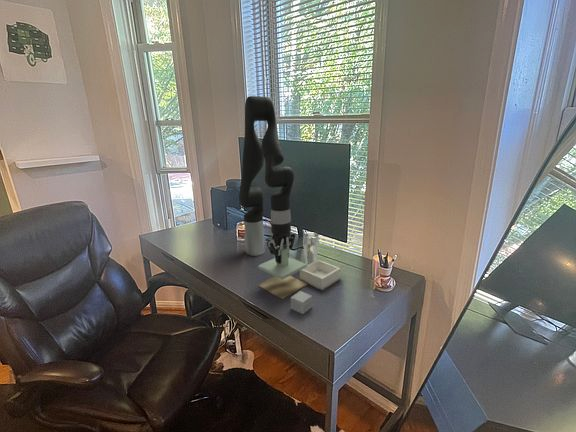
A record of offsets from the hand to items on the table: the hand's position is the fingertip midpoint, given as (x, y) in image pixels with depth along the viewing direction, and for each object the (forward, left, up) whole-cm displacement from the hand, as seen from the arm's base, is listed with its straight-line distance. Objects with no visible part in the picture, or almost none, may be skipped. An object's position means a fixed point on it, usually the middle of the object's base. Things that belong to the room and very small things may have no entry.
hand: (282, 261), depth 125 cm
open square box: (+8, +14, -11) cm, 19 cm away
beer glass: (-3, +21, -11) cm, 24 cm away
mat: (0, 0, -11) cm, 11 cm away
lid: (0, 0, -3) cm, 3 cm away
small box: (+16, -6, -11) cm, 20 cm away
